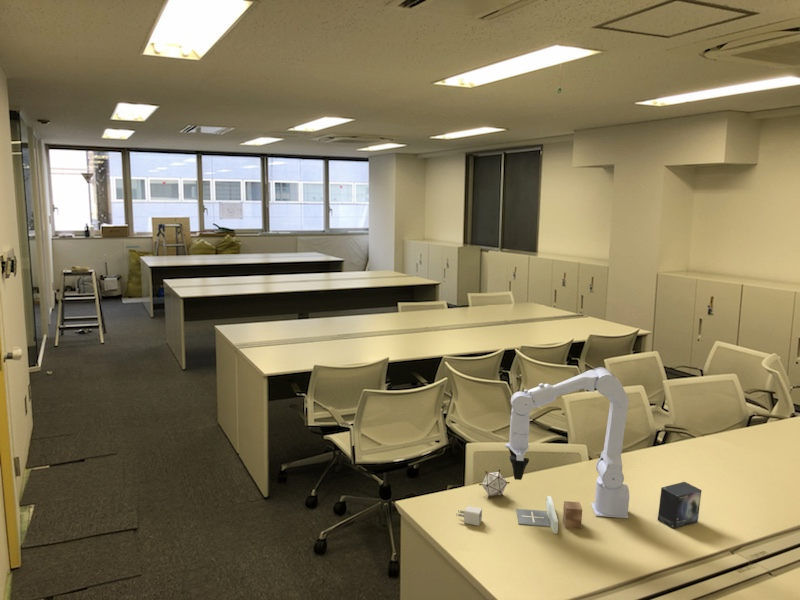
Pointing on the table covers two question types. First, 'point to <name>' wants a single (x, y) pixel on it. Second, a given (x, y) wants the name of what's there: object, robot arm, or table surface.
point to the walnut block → (572, 515)
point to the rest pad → (532, 517)
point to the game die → (494, 483)
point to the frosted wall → (552, 515)
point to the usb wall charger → (471, 515)
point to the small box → (679, 505)
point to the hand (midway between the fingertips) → (516, 473)
